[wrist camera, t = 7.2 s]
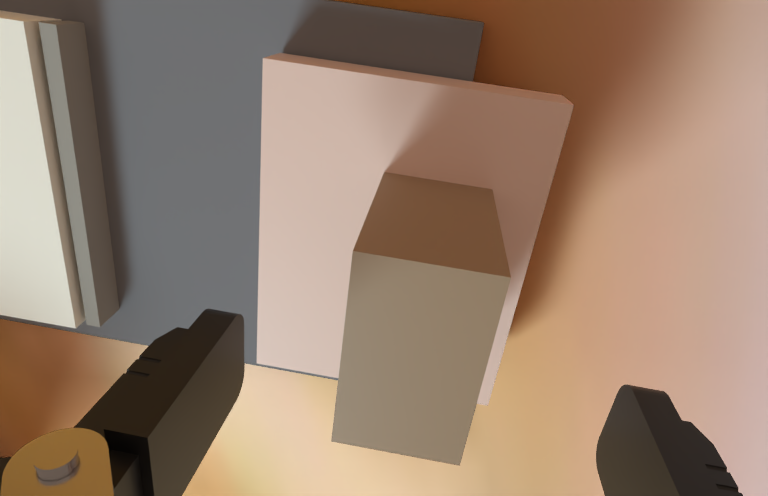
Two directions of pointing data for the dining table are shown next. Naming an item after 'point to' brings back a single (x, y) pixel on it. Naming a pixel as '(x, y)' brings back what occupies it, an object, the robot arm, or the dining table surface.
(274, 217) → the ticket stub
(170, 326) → the ticket base
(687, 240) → the dining table surface
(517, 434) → the dining table surface
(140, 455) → the robot arm
